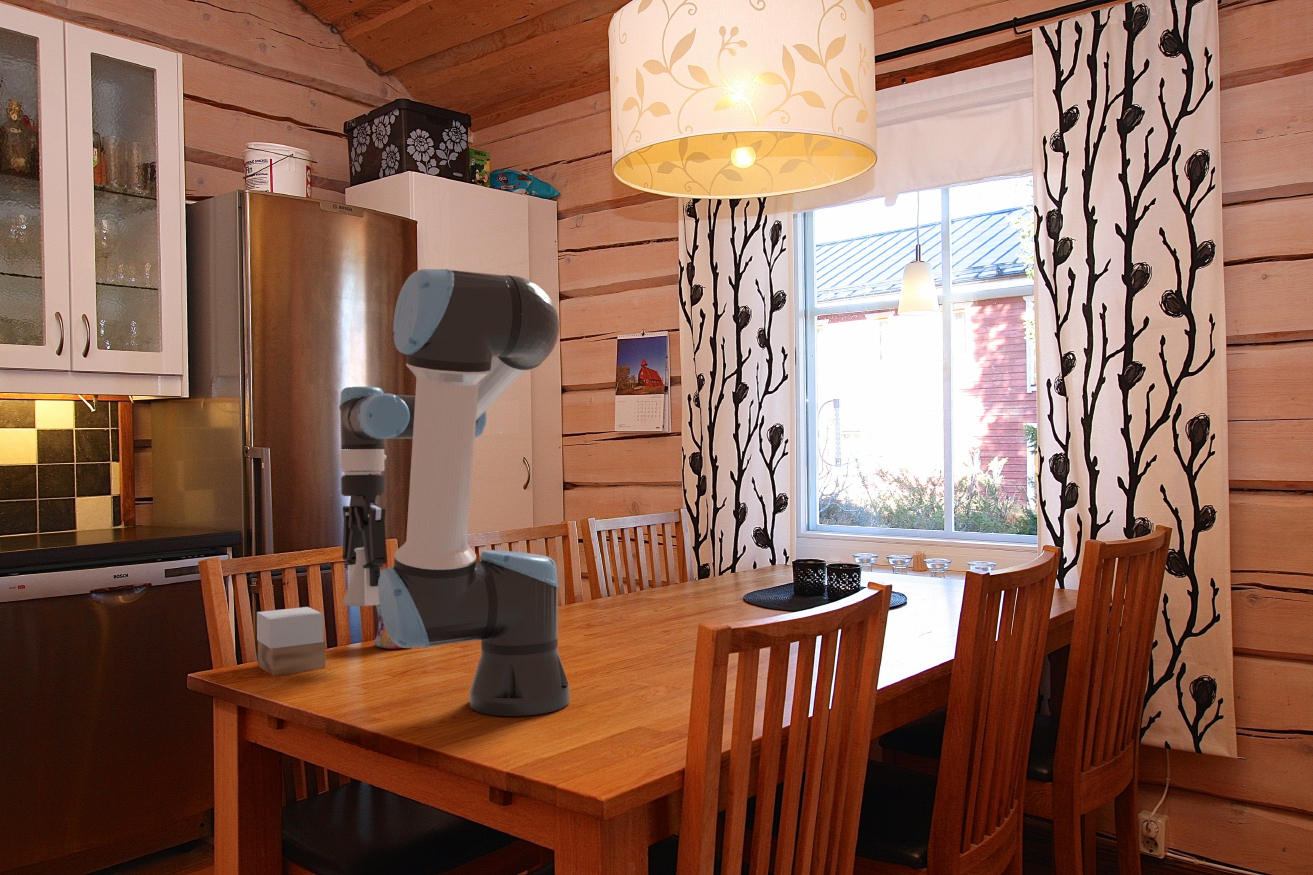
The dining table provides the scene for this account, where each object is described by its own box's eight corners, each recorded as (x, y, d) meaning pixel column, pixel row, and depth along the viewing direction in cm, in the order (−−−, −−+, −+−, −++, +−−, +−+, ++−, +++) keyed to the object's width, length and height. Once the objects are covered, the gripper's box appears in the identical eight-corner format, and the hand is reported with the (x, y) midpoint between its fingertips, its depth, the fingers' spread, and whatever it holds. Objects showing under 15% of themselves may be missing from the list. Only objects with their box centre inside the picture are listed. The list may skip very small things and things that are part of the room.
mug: (392, 653, 186) (391, 597, 186) (361, 647, 191) (361, 592, 191) (441, 642, 195) (441, 589, 195) (411, 636, 201) (410, 585, 201)
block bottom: (325, 669, 174) (325, 641, 174) (273, 676, 169) (273, 647, 169) (308, 660, 181) (308, 633, 181) (257, 667, 176) (257, 639, 176)
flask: (394, 603, 176) (393, 547, 176) (362, 608, 170) (361, 551, 170) (366, 600, 180) (366, 545, 180) (334, 605, 174) (334, 549, 174)
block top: (323, 641, 174) (323, 613, 174) (270, 648, 168) (270, 619, 168) (308, 633, 181) (308, 606, 181) (257, 639, 176) (256, 611, 176)
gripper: (406, 473, 170) (407, 606, 169) (361, 473, 185) (363, 595, 185) (364, 474, 165) (365, 610, 165) (322, 474, 181) (323, 599, 180)
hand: (364, 602), depth 175 cm, fingers closed on flask, 7 cm apart
